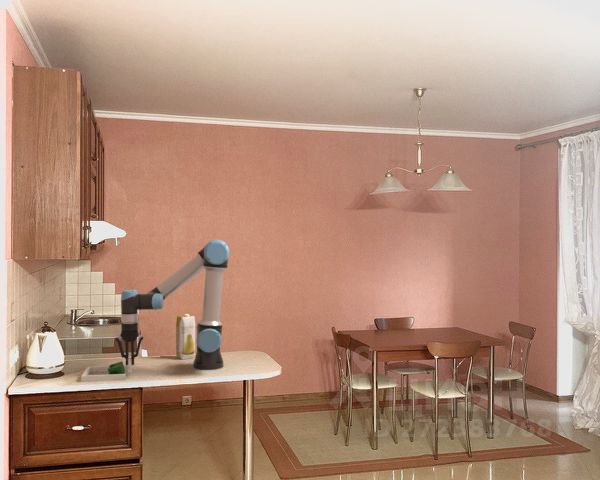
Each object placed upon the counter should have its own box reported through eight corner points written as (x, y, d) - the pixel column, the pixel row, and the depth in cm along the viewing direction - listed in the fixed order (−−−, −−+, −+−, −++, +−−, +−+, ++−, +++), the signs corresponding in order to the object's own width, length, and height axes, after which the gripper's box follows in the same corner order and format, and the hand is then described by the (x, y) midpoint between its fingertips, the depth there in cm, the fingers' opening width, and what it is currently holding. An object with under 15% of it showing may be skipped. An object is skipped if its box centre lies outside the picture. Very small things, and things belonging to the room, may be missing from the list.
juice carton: (181, 360, 330) (181, 315, 329) (174, 358, 336) (174, 313, 336) (196, 358, 336) (196, 313, 335) (189, 355, 342) (189, 312, 342)
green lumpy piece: (114, 383, 297) (110, 365, 300) (126, 380, 298) (123, 361, 301) (109, 379, 286) (105, 360, 289) (122, 375, 287) (118, 357, 290)
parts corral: (128, 370, 306) (128, 365, 306) (125, 379, 286) (125, 374, 286) (87, 371, 302) (87, 366, 302) (81, 381, 282) (81, 376, 282)
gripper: (144, 320, 300) (144, 369, 300) (116, 321, 297) (116, 370, 298) (143, 323, 292) (143, 372, 293) (114, 324, 290) (115, 374, 290)
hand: (130, 371), depth 295 cm, fingers closed
